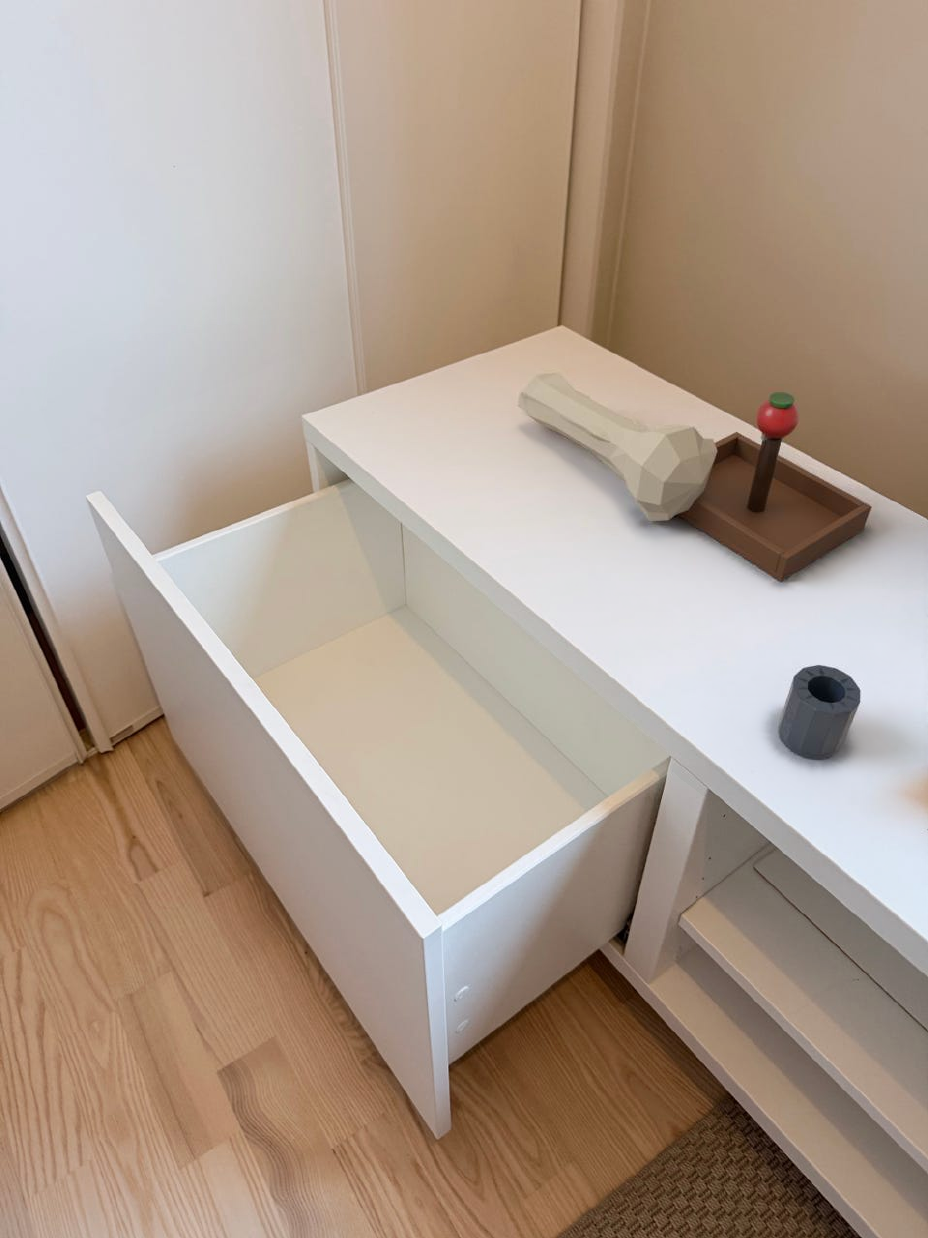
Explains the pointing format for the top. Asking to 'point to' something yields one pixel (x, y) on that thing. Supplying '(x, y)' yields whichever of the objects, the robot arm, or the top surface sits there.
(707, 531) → the tray
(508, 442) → the top surface
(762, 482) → the red ball joystick
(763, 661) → the top surface
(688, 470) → the faceted club
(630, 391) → the top surface
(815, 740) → the holder
